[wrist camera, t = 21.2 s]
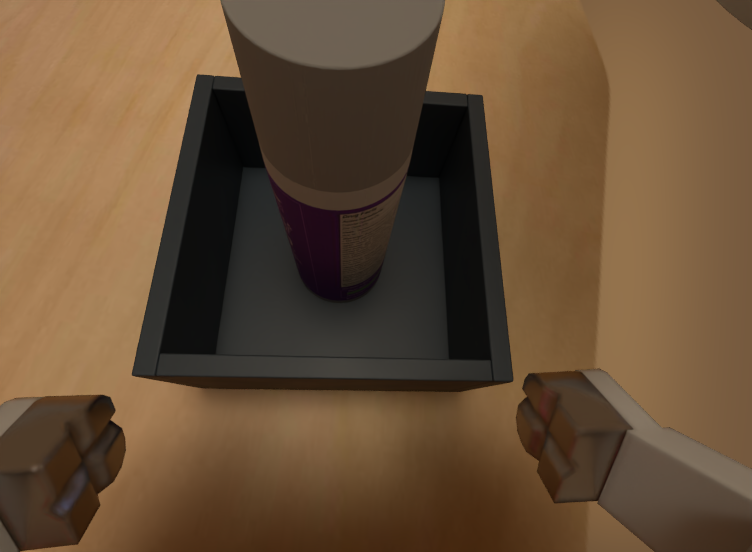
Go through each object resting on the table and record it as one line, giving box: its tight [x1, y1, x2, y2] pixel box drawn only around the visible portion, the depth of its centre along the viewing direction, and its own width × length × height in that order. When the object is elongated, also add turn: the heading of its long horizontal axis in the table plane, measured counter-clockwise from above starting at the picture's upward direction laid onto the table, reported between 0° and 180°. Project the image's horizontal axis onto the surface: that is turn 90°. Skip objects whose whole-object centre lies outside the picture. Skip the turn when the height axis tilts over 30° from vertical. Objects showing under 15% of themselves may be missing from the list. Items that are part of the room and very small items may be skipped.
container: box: [221, 0, 445, 303], centre depth 15 cm, size 5×5×15 cm
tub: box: [132, 75, 513, 392], centre depth 19 cm, size 14×14×7 cm
